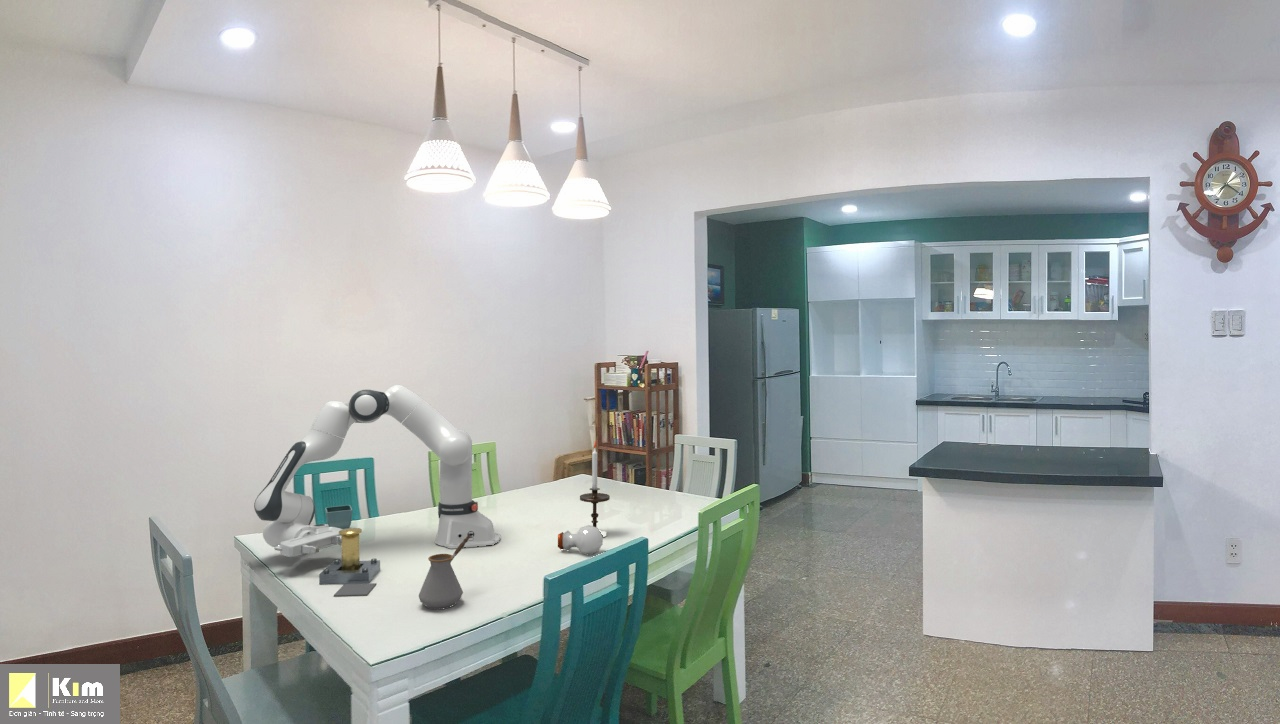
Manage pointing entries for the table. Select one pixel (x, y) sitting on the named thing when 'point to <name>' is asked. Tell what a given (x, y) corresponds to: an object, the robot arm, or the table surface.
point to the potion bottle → (582, 540)
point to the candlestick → (594, 490)
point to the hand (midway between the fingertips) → (330, 546)
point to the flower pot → (339, 516)
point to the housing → (349, 573)
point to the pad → (355, 589)
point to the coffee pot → (441, 581)
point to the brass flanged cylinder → (350, 548)
